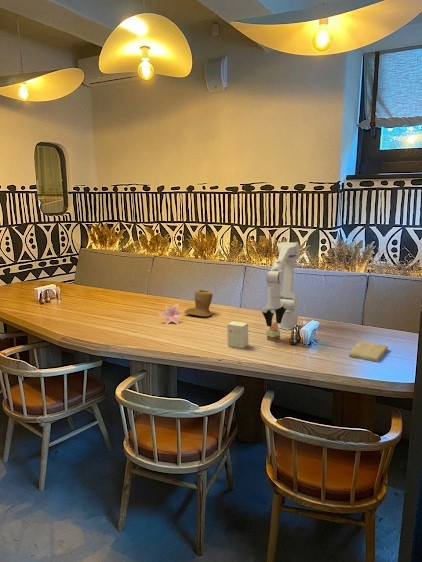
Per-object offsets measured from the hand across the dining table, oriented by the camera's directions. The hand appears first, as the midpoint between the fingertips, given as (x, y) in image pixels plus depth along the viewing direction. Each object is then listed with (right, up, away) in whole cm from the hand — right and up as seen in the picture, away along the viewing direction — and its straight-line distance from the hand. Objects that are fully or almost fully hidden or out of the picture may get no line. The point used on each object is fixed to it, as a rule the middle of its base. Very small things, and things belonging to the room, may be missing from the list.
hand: (273, 324), depth 194 cm
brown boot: (-36, 0, +47) cm, 59 cm away
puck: (0, -3, +1) cm, 3 cm away
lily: (-51, -3, +32) cm, 60 cm away
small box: (-17, -9, -6) cm, 20 cm away
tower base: (0, -8, +1) cm, 8 cm away
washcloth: (+38, -11, -18) cm, 43 cm away
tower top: (0, -5, +1) cm, 5 cm away
